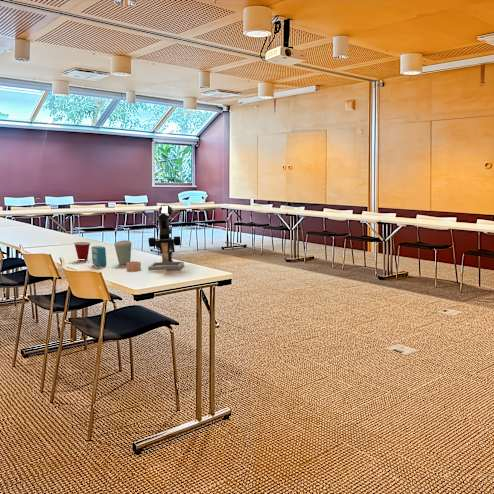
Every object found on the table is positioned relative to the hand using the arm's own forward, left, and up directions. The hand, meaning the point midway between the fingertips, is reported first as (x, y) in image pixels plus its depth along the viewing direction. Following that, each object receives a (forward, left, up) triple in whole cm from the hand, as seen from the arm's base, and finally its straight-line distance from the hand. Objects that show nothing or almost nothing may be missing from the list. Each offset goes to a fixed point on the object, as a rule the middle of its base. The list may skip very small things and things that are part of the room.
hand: (164, 252), depth 318 cm
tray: (-3, 0, -10) cm, 10 cm away
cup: (+3, -18, -10) cm, 21 cm away
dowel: (-1, 0, -6) cm, 6 cm away
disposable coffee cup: (-20, -30, -10) cm, 38 cm away
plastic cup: (-46, -65, -10) cm, 81 cm away
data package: (-21, -46, -10) cm, 52 cm away
